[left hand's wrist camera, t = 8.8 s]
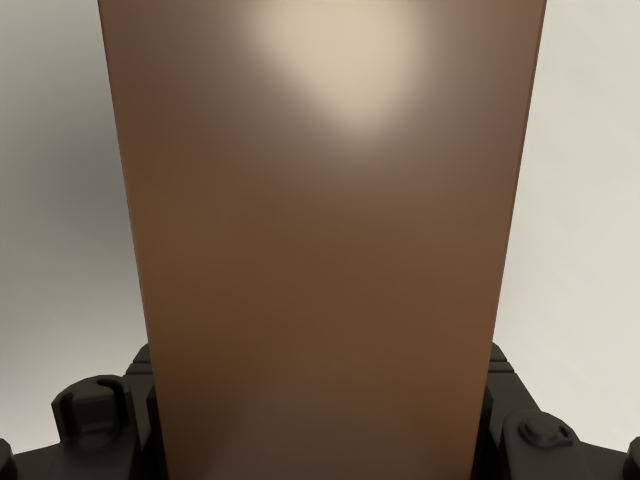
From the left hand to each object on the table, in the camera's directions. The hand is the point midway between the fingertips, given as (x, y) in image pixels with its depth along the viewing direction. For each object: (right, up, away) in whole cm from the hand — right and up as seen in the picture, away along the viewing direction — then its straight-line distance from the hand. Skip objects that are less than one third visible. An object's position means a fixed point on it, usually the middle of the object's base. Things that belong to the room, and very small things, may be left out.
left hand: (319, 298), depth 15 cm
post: (0, +32, -11) cm, 34 cm away
